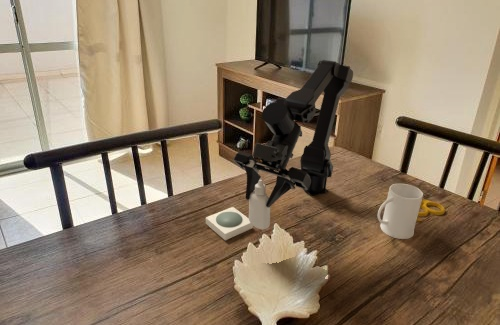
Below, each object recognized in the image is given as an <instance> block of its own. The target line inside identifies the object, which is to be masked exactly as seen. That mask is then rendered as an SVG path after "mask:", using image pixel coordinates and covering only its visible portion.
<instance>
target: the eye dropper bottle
mask: <svg viewBox="0 0 500 325" xmlns="http://www.w3.org/2000/svg"><path fill="white" fill-rule="evenodd" d="M266 187H267V185H266V184H265V183H263V179H260V180H259V182H258V183H257V184H256V185H255V190H254V192H252V193H251V194H250V198H249V200H248V218H249V221H250V223H251V224H252V225H253V227H254V228H256V229H258V230H266V229H268V228H269V227H271V226H270V225H271V206H270V207H269V208H268V207H266V204H267V202H268V199H269V197H270V196H268V195H267V194H266Z"/></svg>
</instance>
